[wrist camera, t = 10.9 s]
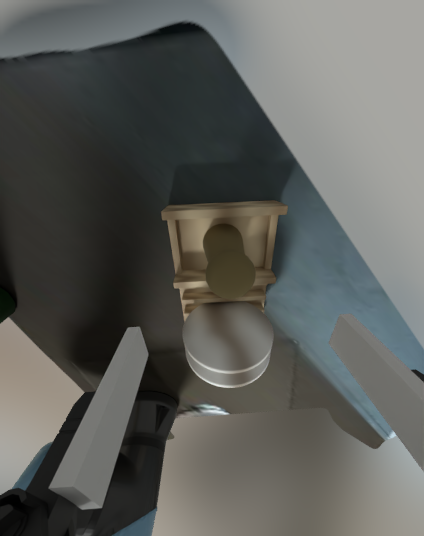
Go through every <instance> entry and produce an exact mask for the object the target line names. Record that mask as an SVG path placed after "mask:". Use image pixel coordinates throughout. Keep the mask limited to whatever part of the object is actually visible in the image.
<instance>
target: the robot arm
mask: <svg viewBox="0 0 424 536" xmlns="http://www.w3.org/2000/svg"><path fill="white" fill-rule="evenodd" d="M329 344H330V346H331V347H332V348H333V350H334V351H335V352H336V354H337V355H338V356H339V358H340V359H341V361H342V362H343V363H344V365H345V366H346V367H347V369H348V370H349V371H350V373H351V374H352V375H353V377H354V378H355V379H356V381H357V382H358V384H359V385H360V386H361V388H362V389H363V390H364V392H365V393H366V394H367V396H368V397H369V398H370V400H371V401H372V402H373V404H374V405H375V406H376V408H377V409H378V411H379V412H380V413H381V415H382V416H383V417H384V419H385V420H386V421H387V423H388V424H389V425H390V427H391V428H392V429H393V431H394V432H395V433H396V435H397V436H398V437H399V439H400V440H401V442H402V443H403V444H404V445H405V447H406V448H407V450H408V451H409V452H410V454H411V455H412V456H413V458H414V459H415V461H416V462H417V463H418V465H419V466H420V467H421V469H422V470H423V471H424V375H423V374H422V373H420V372H419V371H417V370H410V369H409V368H408V367H407V366H406V365H405V364H404V363H403V362H402V361H401V360H399V359H398V358H397V357H396V356H395V355H394V354H393V353H392V352H391V351H390V350H389V349H388V348H387V347H386V346H385V345H384V344H383V343H382V342H380V341H379V340H378V339H377V338H376V337H375V336H374V335H373V334H372V333H371V332H370V331H369V330H368V329H367V328H366V327H365V326H364V325H362V324H361V323H360V322H359V321H358V320H357V319H356V318H355V317H354V316H353V315H352V314H341V315H339V318H338V320H337V323H336V326H335V328H334V331H333V333H332V336H331V338H330V341H329ZM148 355H149V354H148V351H147V348H146V345H145V342H144V339H143V335H142V332H141V329H140V327H128V328H127V330H126V332H125V334H124V336H123V338H122V340H121V342H120V344H119V346H118V348H117V350H116V352H115V354H114V356H113V358H112V360H111V363H110V365H109V367H108V369H107V371H106V373H105V375H104V377H103V379H102V381H101V383H100V385H99V387H98V389H97V391H96V392H85V393H84V394H83V395H82V396H81V397H80V398H79V400H78V401H77V402H76V403H75V404H74V406H73V407H72V409H71V411H70V413H69V414H68V416H67V418H66V421H65V422H64V423H63V425H62V427H61V429H60V430H59V434H57V436H56V438H55V439H54V441H53V442H50V443H48V444H46V445H45V446H44V447H42V448H41V449H40V451H39V452H38V453H37V454H36V456H35V457H34V459H33V460H32V461H31V463H30V464H29V465H28V467H27V468H26V470H25V471H24V472H23V474H22V475H21V476H20V478H19V480H18V481H17V482H16V483H15V485H14V486H13V488H12V489H11V490H8V491H7V492H5V493H4V494H2V495H0V536H151V535H152V529H153V525H154V520H155V514H156V511H157V502H158V495H159V487H160V480H161V473H162V466H163V459H164V452H165V445H166V441H167V438H168V436H169V433H170V430H171V428H172V425H173V423H174V420H175V418H176V413H177V403H176V401H175V400H174V399H173V398H171V397H170V396H168V395H165V394H163V393H159V392H151V391H144V392H137V391H138V388H139V384H140V381H141V378H142V375H143V371H144V368H145V365H146V361H147V358H148Z"/></svg>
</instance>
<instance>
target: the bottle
mask: <svg viewBox="0 0 424 536" xmlns="http://www.w3.org/2000/svg"><path fill="white" fill-rule="evenodd" d="M14 312H15V302H14V300H13V299H12V298H11V296H10V295H9V293H8V292H6V291H5V290H3V289H2V288H0V323H1V322H3V321H4V320H5V319H6V318H7V317H9V316H10V315H11V314H12V313H14Z"/></svg>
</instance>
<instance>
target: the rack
mask: <svg viewBox="0 0 424 536" xmlns="http://www.w3.org/2000/svg"><path fill="white" fill-rule="evenodd" d="M287 208H288V206H287V205H285V204H282V203H280V202H278V201H275V200H270V201H248V202H227V203H205V204H183V205H168V206H167V207H166V208H165V209H163V210H162V211H161V215H162V220H167V222H168V228H169V235H170V241H171V247H172V253H173V260H174V266H175V272H176V275H175V278H174V282H173V284H174V288H179V289H180V295H181V302H182V308H183V314H184V321H185V323H184V326H183V341H184V345H185V352H186V357H187V361H188V363H189V365H190V367H191V368H192V370H193V371H194V372H195V373H196V374H197V375H198V376H199V377H200V378H201V379H203V380H204V381H206V382H208V383H210V384H212V385H215V386H219V387H225V388H234V387H240V386H244V385H247V384H249V383H251V382H253V381H255V380H256V379H257V378H258V377H260V376H261V375H262V373H263V372H264V371H265V369H266V367H267V366H268V363H269V359H270V354H271V348H272V343H273V328H272V325H271V323H270V321H269V319H268V318H267V316H266V315H265V314H264V300H266V295H265V292H266V285H268V284H273V283H276V276H275V275H274V273H273V272H272V270H271V265H272V258H273V250H274V243H275V236H276V229H277V221H278V215H286V214H287ZM224 223H226V224H230V225H233V226H234V227H235V228H237V229H238V230H239V232H240V233H241V236H242V239H243V245H244V252H245V255H246V256H248V257H249V259H250V260H251V261H252V263H253V264H254V268H255V271H256V276H255V282H254V284H253V286H252V288H251V289H250V290H249V291H248V292H247V293H246V294H245V295H243V296H242V297H239V298H235V299H226V298H222V297H220V296H218V295H216V294H214V293H213V292H212V291H211V290H210V288H209V286H208V284H207V282H206V268H207V265H208V261H207V258H206V255H205V252H204V249H203V238H204V235H205V234H206V232H207V231H208V230H209V229H210V228H211V227H212V226H214V225H217V224H224Z"/></svg>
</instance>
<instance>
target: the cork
mask: <svg viewBox="0 0 424 536" xmlns="http://www.w3.org/2000/svg"><path fill="white" fill-rule="evenodd" d="M203 249H204V252H205V255H206V258H207V261H208V265H207V268H206V282H207V284H208V286H209V288H210V290H211V291H212V292H213V293H214V294H216V295H218V296H220V297H222V298H226V299H235V298H239V297H242V296H243V295H245V294H246V293H247V292H248V291H249V290H250V289H251V288H252V286H253V284H254V282H255V276H256V271H255V268H254V264H253V263H252V261H251V260H250V259H249V257H248V256H246V255H245V252H244V245H243V239H242V236H241V233H240V232H239V230H238V229H237V228H235V227H234V226H233V225H230V224H226V223H224V224H217V225H214V226H212V227H211V228H210V229H209V230H208V231H207V232H206V234H205V235H204V238H203Z"/></svg>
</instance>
